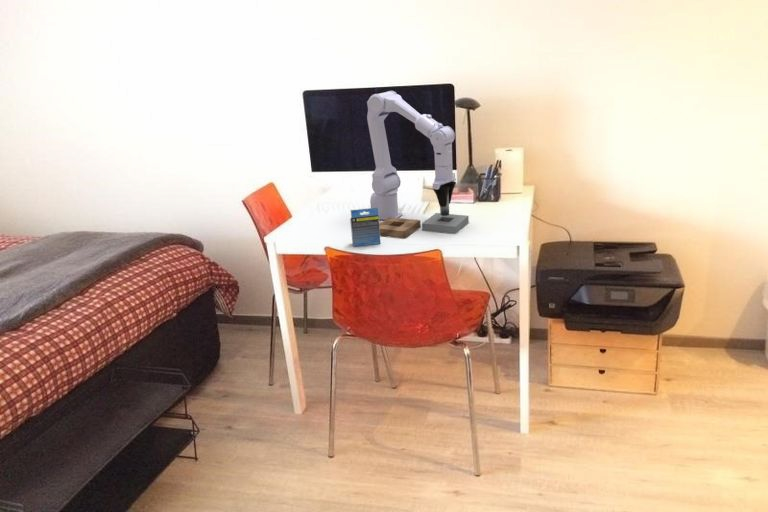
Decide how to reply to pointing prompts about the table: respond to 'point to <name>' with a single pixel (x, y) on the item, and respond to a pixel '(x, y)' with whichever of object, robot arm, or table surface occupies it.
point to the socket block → (398, 227)
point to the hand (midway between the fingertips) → (445, 204)
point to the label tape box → (365, 227)
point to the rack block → (445, 223)
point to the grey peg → (445, 208)
